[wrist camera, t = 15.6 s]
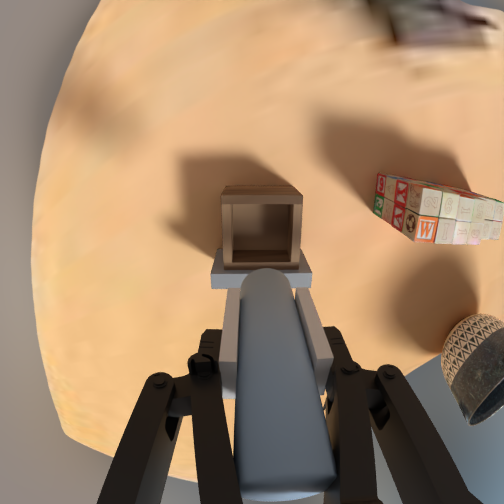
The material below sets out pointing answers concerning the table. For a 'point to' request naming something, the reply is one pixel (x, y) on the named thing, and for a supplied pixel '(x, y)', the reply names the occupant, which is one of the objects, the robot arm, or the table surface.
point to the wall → (236, 277)
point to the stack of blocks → (437, 211)
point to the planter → (476, 366)
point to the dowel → (277, 398)
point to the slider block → (261, 227)
